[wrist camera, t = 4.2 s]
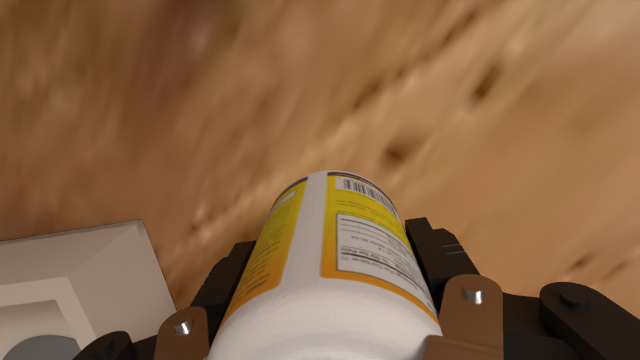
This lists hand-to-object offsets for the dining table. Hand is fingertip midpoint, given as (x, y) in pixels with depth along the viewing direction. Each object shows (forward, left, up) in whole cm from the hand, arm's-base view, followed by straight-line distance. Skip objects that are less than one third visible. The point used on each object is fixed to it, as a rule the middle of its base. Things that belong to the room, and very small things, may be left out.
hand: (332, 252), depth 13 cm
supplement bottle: (0, 0, -2) cm, 2 cm away
